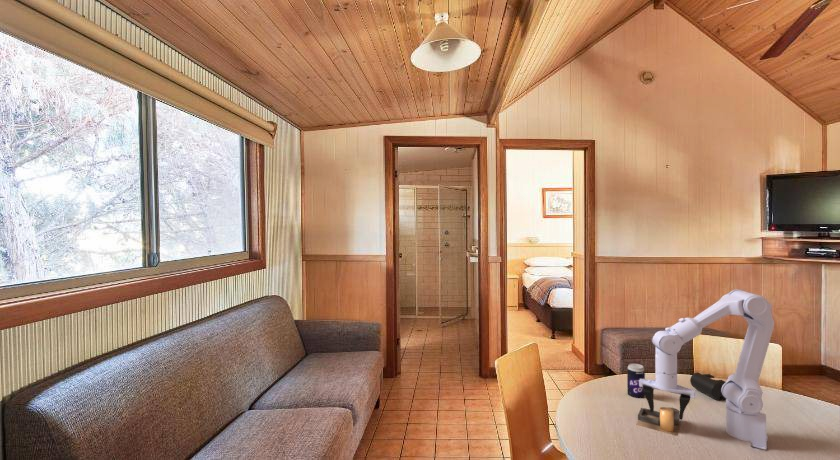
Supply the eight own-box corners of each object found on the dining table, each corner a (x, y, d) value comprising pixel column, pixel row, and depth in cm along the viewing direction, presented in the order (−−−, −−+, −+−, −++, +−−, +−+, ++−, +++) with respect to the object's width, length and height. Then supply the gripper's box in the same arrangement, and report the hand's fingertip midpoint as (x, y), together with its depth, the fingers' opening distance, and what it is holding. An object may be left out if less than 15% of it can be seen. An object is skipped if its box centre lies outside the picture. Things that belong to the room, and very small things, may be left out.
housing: (680, 425, 125) (680, 409, 125) (677, 439, 118) (677, 422, 117) (641, 415, 132) (641, 400, 132) (635, 428, 125) (635, 412, 124)
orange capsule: (674, 428, 122) (674, 409, 121) (672, 433, 119) (672, 414, 119) (660, 424, 124) (660, 406, 124) (659, 429, 121) (658, 410, 121)
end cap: (689, 390, 150) (689, 372, 150) (706, 388, 151) (706, 371, 151) (711, 402, 140) (711, 383, 140) (729, 400, 141) (729, 382, 141)
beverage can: (627, 399, 144) (627, 367, 143) (627, 393, 149) (627, 362, 148) (645, 402, 141) (645, 369, 141) (644, 396, 146) (644, 364, 146)
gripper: (695, 372, 119) (695, 416, 120) (641, 362, 128) (642, 402, 129) (693, 380, 114) (693, 426, 114) (637, 368, 123) (637, 411, 123)
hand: (666, 414), depth 121 cm, fingers open, 7 cm apart
